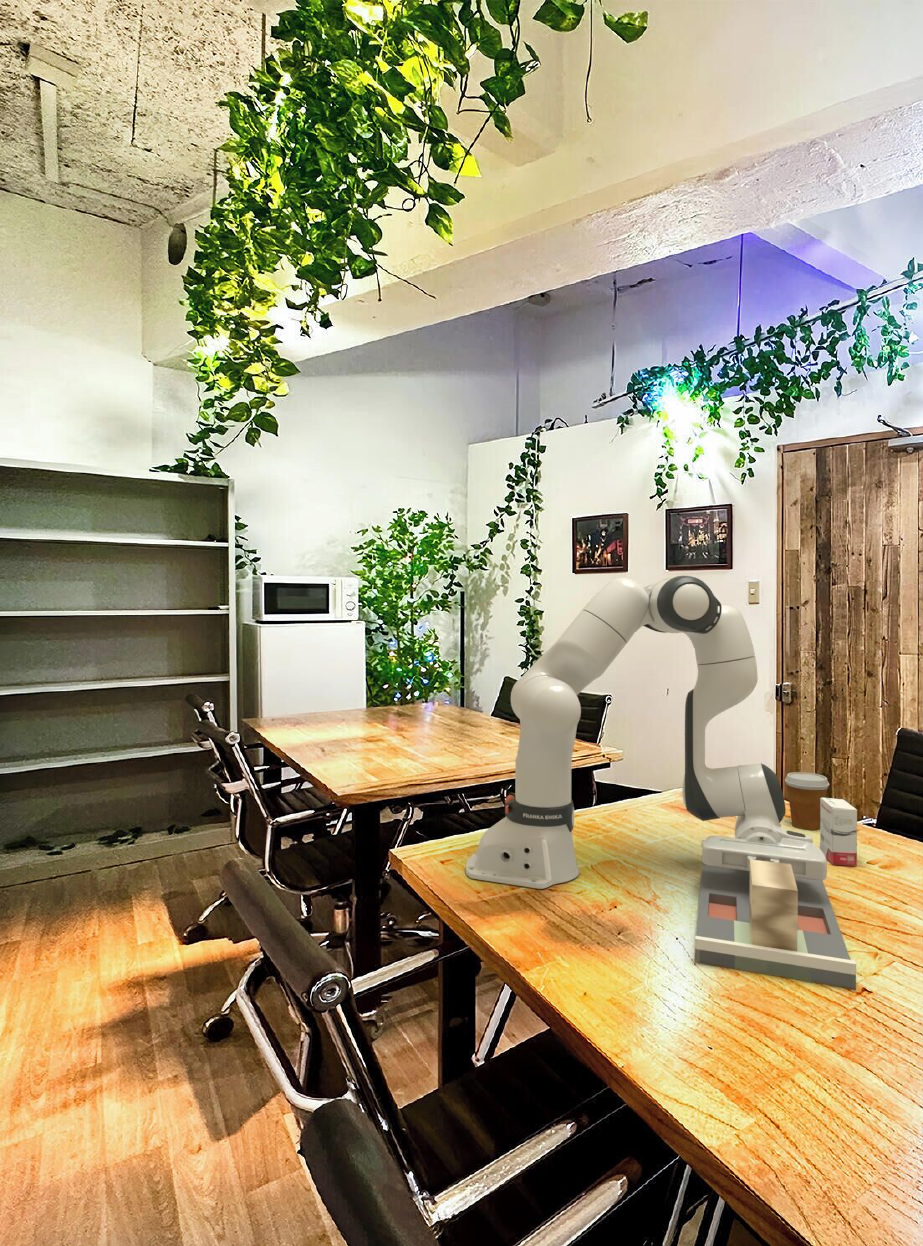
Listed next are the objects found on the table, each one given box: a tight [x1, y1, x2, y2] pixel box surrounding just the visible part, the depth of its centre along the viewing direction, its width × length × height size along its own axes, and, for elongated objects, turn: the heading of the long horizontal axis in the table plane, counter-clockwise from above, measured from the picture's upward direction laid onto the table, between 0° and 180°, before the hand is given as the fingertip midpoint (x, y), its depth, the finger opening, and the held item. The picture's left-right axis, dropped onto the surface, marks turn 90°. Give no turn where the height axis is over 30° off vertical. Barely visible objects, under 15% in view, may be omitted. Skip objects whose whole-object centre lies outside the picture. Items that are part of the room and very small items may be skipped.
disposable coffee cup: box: [784, 771, 830, 831], centre depth 167 cm, size 10×10×12 cm
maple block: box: [749, 859, 798, 952], centre depth 106 cm, size 6×11×10 cm, turn 159°
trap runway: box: [694, 864, 857, 990], centre depth 116 cm, size 21×36×4 cm, turn 159°
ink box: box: [819, 797, 858, 867], centre depth 146 cm, size 9×5×12 cm, turn 168°
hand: (764, 873), depth 117 cm, fingers closed
